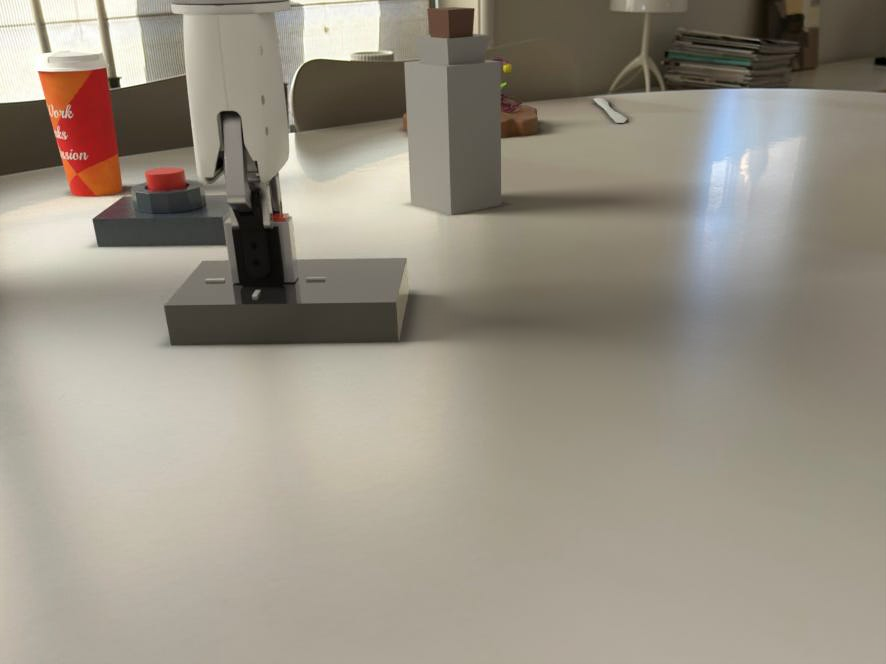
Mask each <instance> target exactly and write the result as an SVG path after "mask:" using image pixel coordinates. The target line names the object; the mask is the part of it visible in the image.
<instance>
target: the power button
mask: <svg viewBox="0 0 886 664" xmlns="http://www.w3.org/2000/svg"><path fill="white" fill-rule="evenodd" d="M144 176H145V180H146V182H147V187H148V190H154V191H167V190H177V189H182V188H186V187H187V184H186V180H187V179H186V173H185V168H182V167H177V166H165V167H156V168H149V169H147V170H146V171H144Z"/></svg>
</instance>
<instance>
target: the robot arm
mask: <svg viewBox="0 0 886 664" xmlns="http://www.w3.org/2000/svg"><path fill="white" fill-rule="evenodd" d="M170 7H171V13H172V14H174V15H182V25H183V26H182V29H183V31H182V32H183V33H182V34H183V51H184V65H185V77H186V88H187V97H188V98H187V99H188V106H189V108H188V109H189V115H190V124H191V133H192V142H193V151H194V160H195V168H196V174H197V177H198V178H199V180H200V181H201V183H202V184H205V185H212V184H214V183H215V182H216V181H218V179H220V177H222V176H223V175H224V181H225V189H226V195H227V201H228V204H229V212H230V219H231V226H232V235H233V242H234V250H235V257H236V264H237V271H238V278H239V283H240V285H241V286H243V287H269V286H281V285H282V284H283V282H284V271H283V262H282V253H281V245H280V236H279V228H278V226H275V227H273V216H274V214H277V213H283V212H284V211H283V209H284V208H283V198H282V191H281V183H280V171H281V170H282V169H283V167H284V166H285V165H286V163H287V162H288V160H289V158H290V135H289V134H290V133H289V122H288V121H289V120H288V109H287V102H286V93H285V92H286V91H285V83H284V82H285V81H284V73H283V67H282V65H283V64H282V59H281V58H282V57H281V50H280V39H279V35H278V34H279V33H278V28H277V21H276V20H277V19H276V13H279V12H287V11H290V10H292V9H291V0H170Z"/></svg>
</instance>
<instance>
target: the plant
mask: <svg viewBox="0 0 886 664" xmlns="http://www.w3.org/2000/svg"><path fill="white" fill-rule="evenodd" d="M489 60H492V61H501V64H502V71H503V72H504V73H505V74H507V75H510V74H511V73H512V71H513V66H512V64H511V63H510V62H509V61H508V60H507V59H504V58H503V57H500V56H494V57H491V58H490V59H489ZM506 85H507V82H506V81H505V82H501V90H502V89H504V87H505V86H506ZM402 124H403V131H404V132H406V133H408V130H407V112H405V113H404V114H403V115H402ZM538 132H539V117H538V109H537V108H536V107H533V106H531V105H527V104H523V103H522V101H521V100H518V101H515V100H513V99H512V98H511V97H508V96H507V95H506V93H505V92H502V93H501V139H504V138H509V137H526V136H532V135H535V134H537V133H538Z"/></svg>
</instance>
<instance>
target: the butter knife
mask: <svg viewBox="0 0 886 664" xmlns="http://www.w3.org/2000/svg"><path fill="white" fill-rule="evenodd" d="M593 101H594V102H595V103H596V104H597V106H599V107H601V108H602V109H603V111H605V112H606V113H607V114H608V116H609V117H610V118H611V119H612V120H613V121H614V122H615V123H616V124H624V123H625V122H626V121H627V120H628V118H627V117H625V116H624V115H623V114H621V113H619V112H617V111H615V110H614V109H613V108H612V107H611V106H610V104H609V102H608V100H607V99H605V98H603V97H595V98H593Z"/></svg>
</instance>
